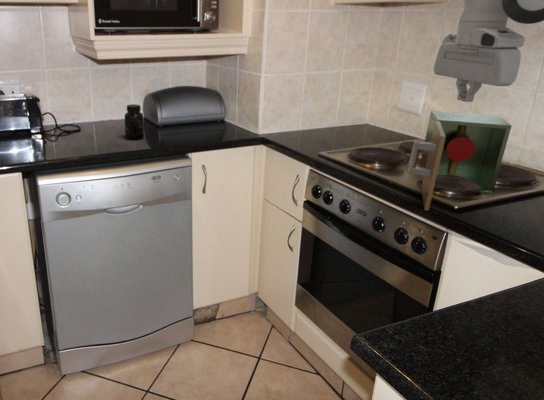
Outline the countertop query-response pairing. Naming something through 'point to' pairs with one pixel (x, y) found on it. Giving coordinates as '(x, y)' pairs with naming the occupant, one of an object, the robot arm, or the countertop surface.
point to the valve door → (428, 162)
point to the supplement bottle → (134, 123)
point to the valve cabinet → (488, 146)
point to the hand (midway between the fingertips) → (464, 100)
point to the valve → (459, 149)
